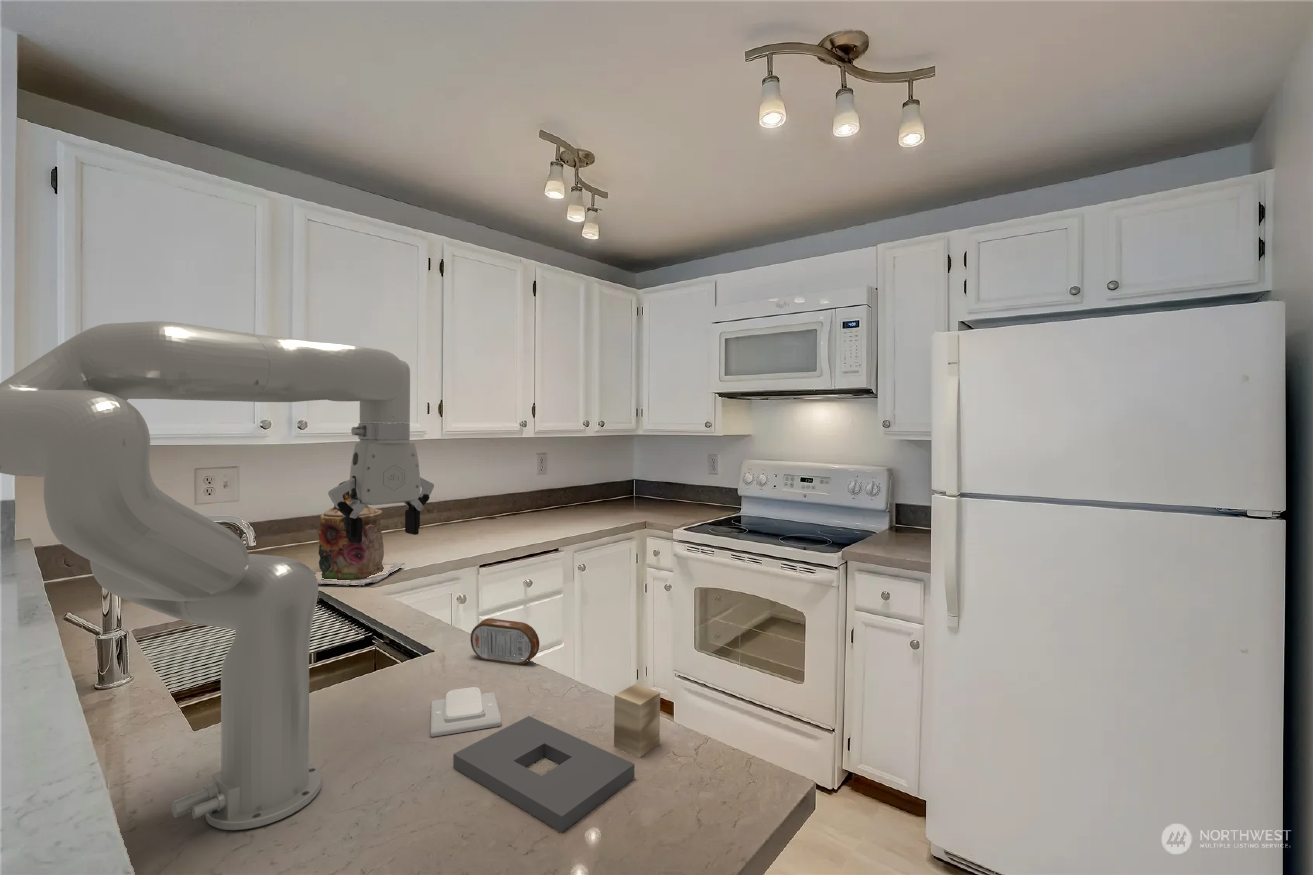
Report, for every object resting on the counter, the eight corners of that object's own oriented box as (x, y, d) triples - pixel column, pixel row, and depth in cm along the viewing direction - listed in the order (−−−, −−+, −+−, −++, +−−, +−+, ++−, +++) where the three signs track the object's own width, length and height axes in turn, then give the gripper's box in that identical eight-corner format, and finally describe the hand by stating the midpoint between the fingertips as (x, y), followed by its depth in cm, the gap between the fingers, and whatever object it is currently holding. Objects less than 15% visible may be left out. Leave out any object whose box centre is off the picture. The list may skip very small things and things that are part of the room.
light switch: (494, 677, 107) (501, 704, 95) (494, 700, 107) (501, 730, 95) (431, 685, 104) (430, 714, 92) (431, 709, 103) (430, 741, 91)
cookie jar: (337, 567, 200) (337, 473, 200) (407, 568, 199) (408, 475, 199) (289, 586, 176) (289, 480, 175) (369, 588, 175) (369, 481, 174)
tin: (540, 662, 121) (540, 622, 121) (532, 668, 118) (533, 627, 118) (476, 654, 125) (476, 615, 125) (467, 660, 122) (468, 620, 122)
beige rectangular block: (639, 758, 87) (640, 704, 87) (614, 746, 90) (614, 695, 90) (659, 743, 91) (660, 692, 91) (634, 733, 94) (635, 683, 94)
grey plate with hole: (561, 832, 70) (561, 816, 70) (453, 767, 84) (453, 753, 84) (634, 777, 82) (634, 763, 82) (528, 728, 95) (528, 715, 95)
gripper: (342, 434, 87) (341, 549, 87) (445, 434, 101) (444, 533, 101) (318, 433, 91) (318, 542, 92) (420, 433, 105) (420, 528, 106)
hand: (384, 537), depth 96 cm, fingers open, 9 cm apart
